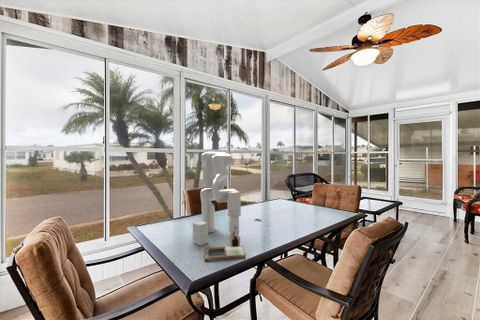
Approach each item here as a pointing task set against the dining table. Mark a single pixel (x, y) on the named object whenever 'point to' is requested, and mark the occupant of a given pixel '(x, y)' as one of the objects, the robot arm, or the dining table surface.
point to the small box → (200, 233)
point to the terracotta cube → (231, 240)
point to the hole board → (219, 252)
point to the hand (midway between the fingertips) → (234, 243)
